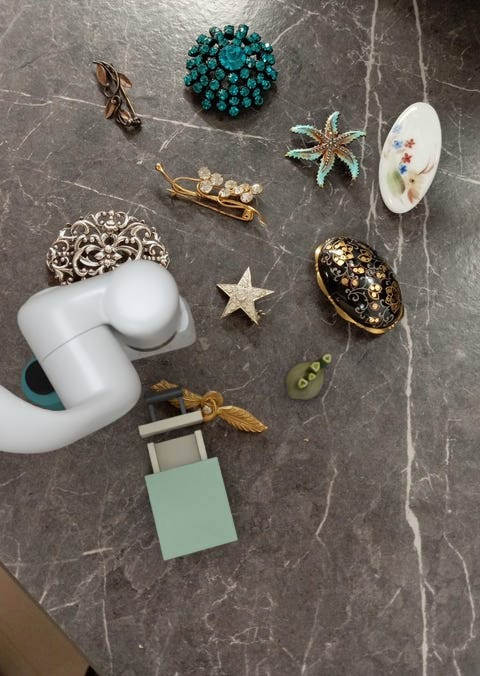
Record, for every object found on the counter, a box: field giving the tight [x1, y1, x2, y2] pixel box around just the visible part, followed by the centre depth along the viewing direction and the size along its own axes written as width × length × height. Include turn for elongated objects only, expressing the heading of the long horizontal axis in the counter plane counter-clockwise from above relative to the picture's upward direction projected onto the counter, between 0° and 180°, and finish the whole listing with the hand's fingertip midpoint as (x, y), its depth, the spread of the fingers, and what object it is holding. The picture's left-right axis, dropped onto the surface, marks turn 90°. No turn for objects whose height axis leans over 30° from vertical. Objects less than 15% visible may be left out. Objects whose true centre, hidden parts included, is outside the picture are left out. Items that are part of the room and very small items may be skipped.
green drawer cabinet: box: [144, 456, 239, 562], centre depth 116 cm, size 10×9×8 cm
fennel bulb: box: [284, 353, 333, 401], centre depth 119 cm, size 6×5×12 cm
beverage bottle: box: [20, 356, 66, 411], centre depth 113 cm, size 6×7×20 cm
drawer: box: [137, 385, 209, 474], centre depth 118 cm, size 13×8×7 cm, turn 15°
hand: (153, 340), depth 115 cm, fingers closed
